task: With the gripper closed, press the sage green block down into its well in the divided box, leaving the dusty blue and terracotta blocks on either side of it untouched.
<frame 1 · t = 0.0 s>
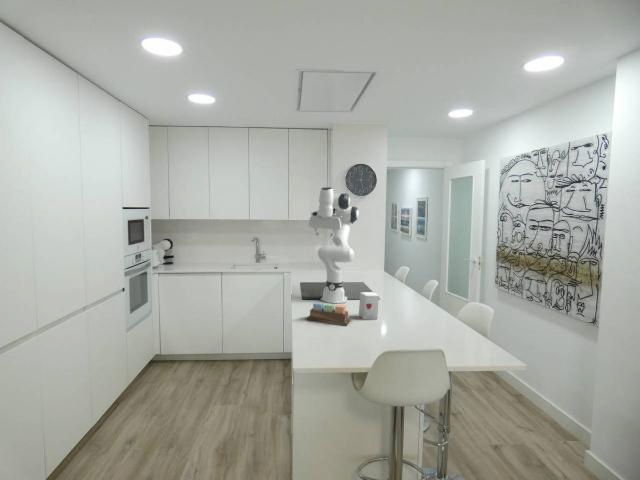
hand: (324, 235, 245), 48 cm above the table, tool pointing down, fingers open, 8 cm apart
terracotta block: (340, 310, 228), point 7 cm above the table, slide at 0.0 cm
sage block: (329, 308, 230), point 7 cm above the table, slide at 0.0 cm
supplement box: (367, 318, 241), on the table
divided box: (328, 320, 230), on the table
blue block: (318, 307, 232), point 7 cm above the table, slide at 0.0 cm
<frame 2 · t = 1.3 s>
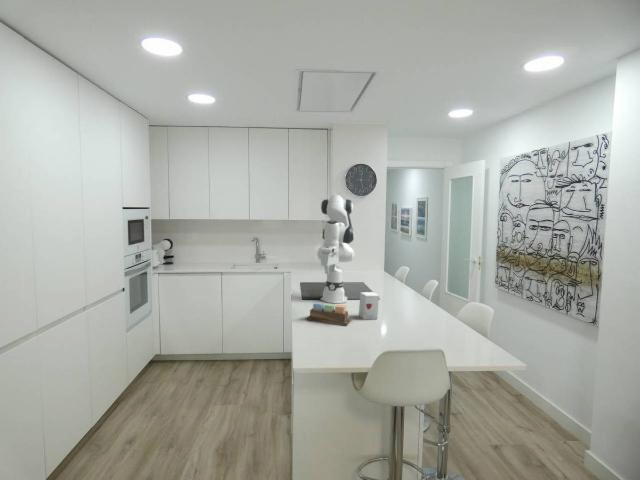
hand: (329, 272, 229), 28 cm above the table, tool pointing down, fingers open, 8 cm apart
nothing on the table moved.
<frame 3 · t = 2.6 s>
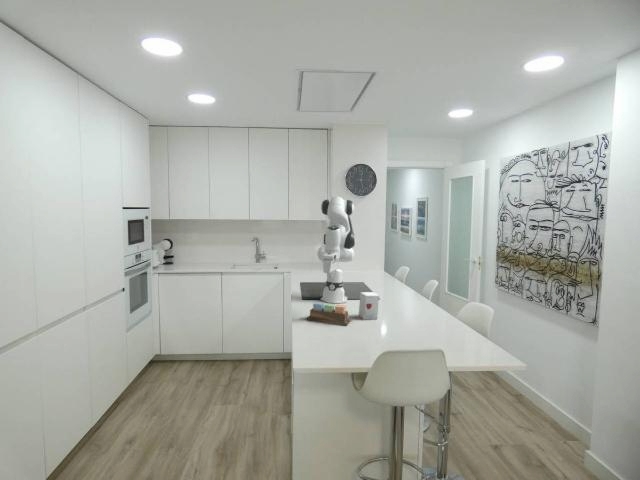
hand: (330, 278, 228), 25 cm above the table, tool pointing down, fingers closed
nothing on the table moved.
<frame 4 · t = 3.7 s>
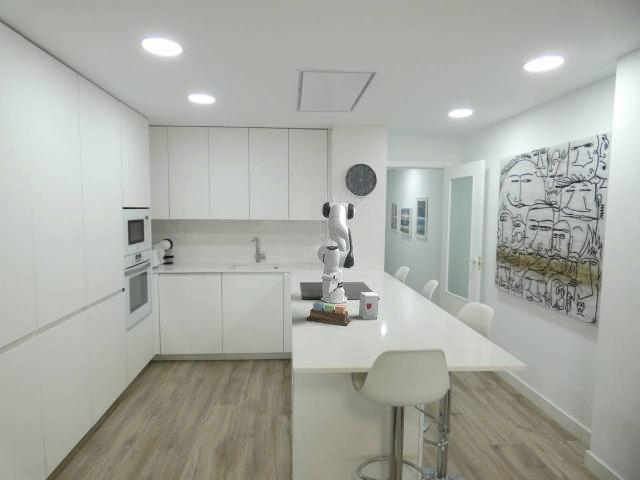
hand: (329, 298, 229), 14 cm above the table, tool pointing down, fingers closed
nothing on the table moved.
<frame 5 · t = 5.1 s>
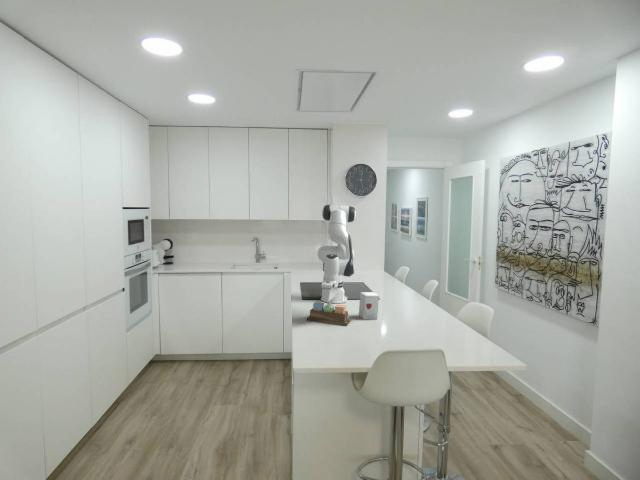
hand: (329, 306, 230), 9 cm above the table, tool pointing down, fingers closed
sage block: (329, 310, 230), point 6 cm above the table, slide at 0.9 cm, touching gripper
everything else where it was.
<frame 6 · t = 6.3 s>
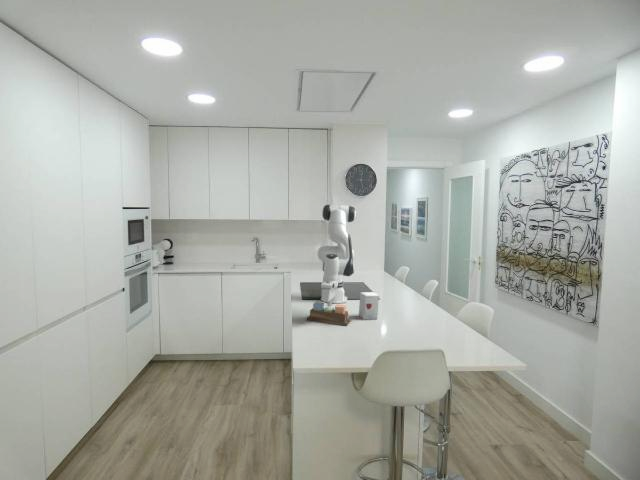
hand: (329, 305, 230), 9 cm above the table, tool pointing down, fingers closed
sage block: (329, 312, 230), point 5 cm above the table, slide at 2.3 cm
everything else where it was.
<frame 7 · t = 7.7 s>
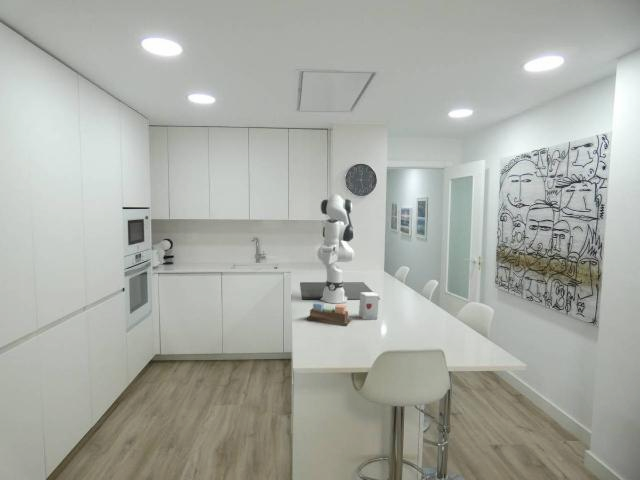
hand: (330, 270, 233), 29 cm above the table, tool pointing down, fingers closed
nothing on the table moved.
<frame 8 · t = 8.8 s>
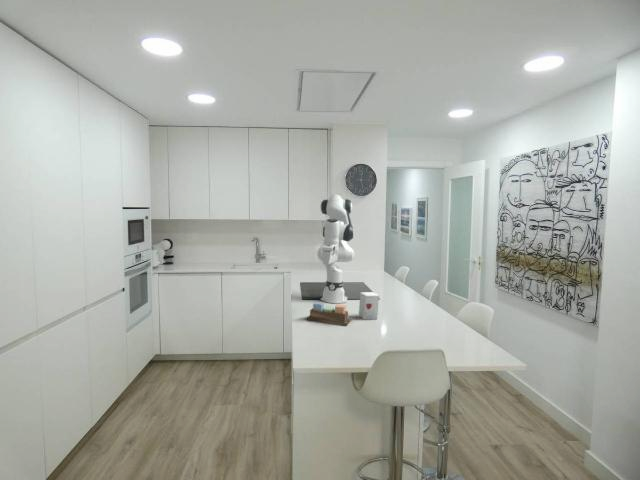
hand: (330, 270, 233), 29 cm above the table, tool pointing down, fingers closed
nothing on the table moved.
at the end: sage block slide at 2.3 cm; blue block slide at 0.0 cm; terracotta block slide at 0.0 cm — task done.
